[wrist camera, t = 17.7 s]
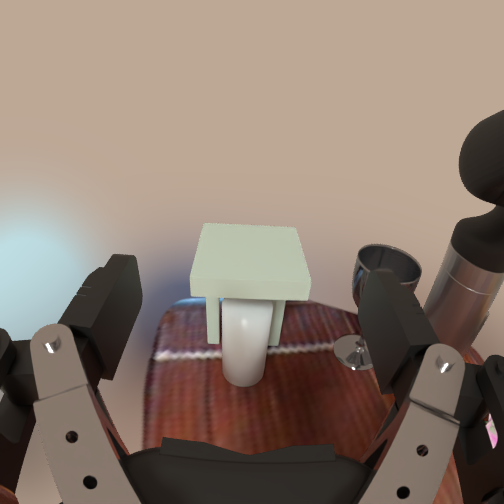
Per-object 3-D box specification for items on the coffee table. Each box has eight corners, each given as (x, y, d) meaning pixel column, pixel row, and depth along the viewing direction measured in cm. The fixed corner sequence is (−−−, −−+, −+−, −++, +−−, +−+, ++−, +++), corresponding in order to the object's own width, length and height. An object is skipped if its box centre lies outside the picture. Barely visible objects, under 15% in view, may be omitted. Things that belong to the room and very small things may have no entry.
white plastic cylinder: (270, 365, 39) (281, 300, 33) (251, 393, 35) (257, 329, 29) (236, 349, 41) (238, 283, 35) (214, 374, 37) (212, 309, 31)
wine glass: (323, 361, 40) (351, 267, 32) (339, 325, 46) (364, 237, 38) (377, 379, 37) (421, 290, 29) (387, 341, 43) (422, 255, 35)
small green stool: (279, 336, 43) (295, 227, 34) (285, 395, 35) (311, 281, 26) (207, 334, 43) (203, 223, 34) (200, 393, 34) (189, 277, 25)
